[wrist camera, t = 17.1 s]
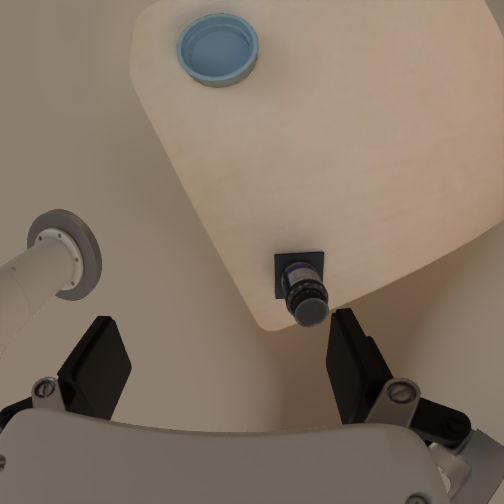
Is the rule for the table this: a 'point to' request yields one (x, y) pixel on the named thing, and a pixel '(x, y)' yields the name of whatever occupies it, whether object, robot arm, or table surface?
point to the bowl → (218, 50)
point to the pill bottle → (305, 294)
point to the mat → (287, 259)
